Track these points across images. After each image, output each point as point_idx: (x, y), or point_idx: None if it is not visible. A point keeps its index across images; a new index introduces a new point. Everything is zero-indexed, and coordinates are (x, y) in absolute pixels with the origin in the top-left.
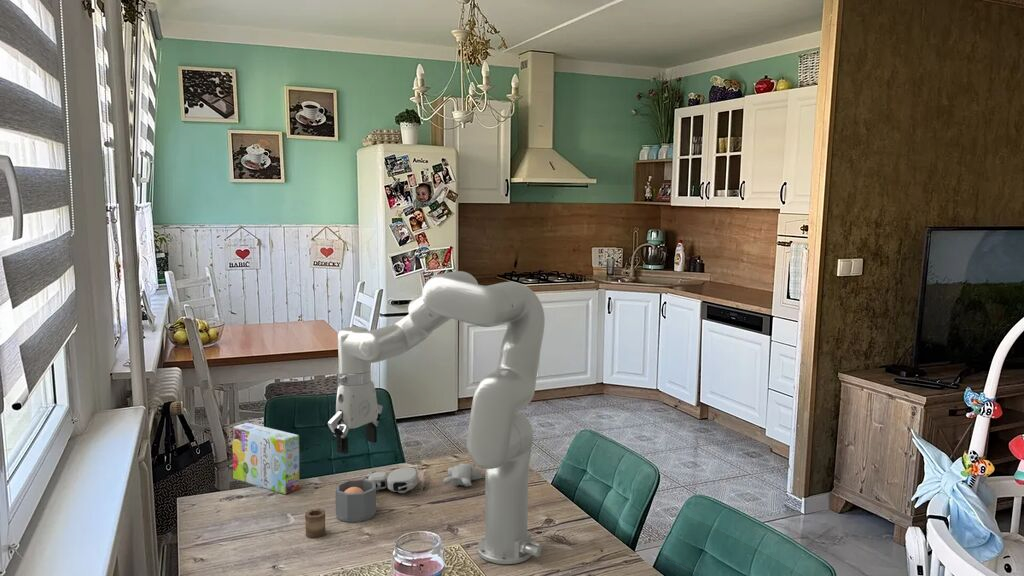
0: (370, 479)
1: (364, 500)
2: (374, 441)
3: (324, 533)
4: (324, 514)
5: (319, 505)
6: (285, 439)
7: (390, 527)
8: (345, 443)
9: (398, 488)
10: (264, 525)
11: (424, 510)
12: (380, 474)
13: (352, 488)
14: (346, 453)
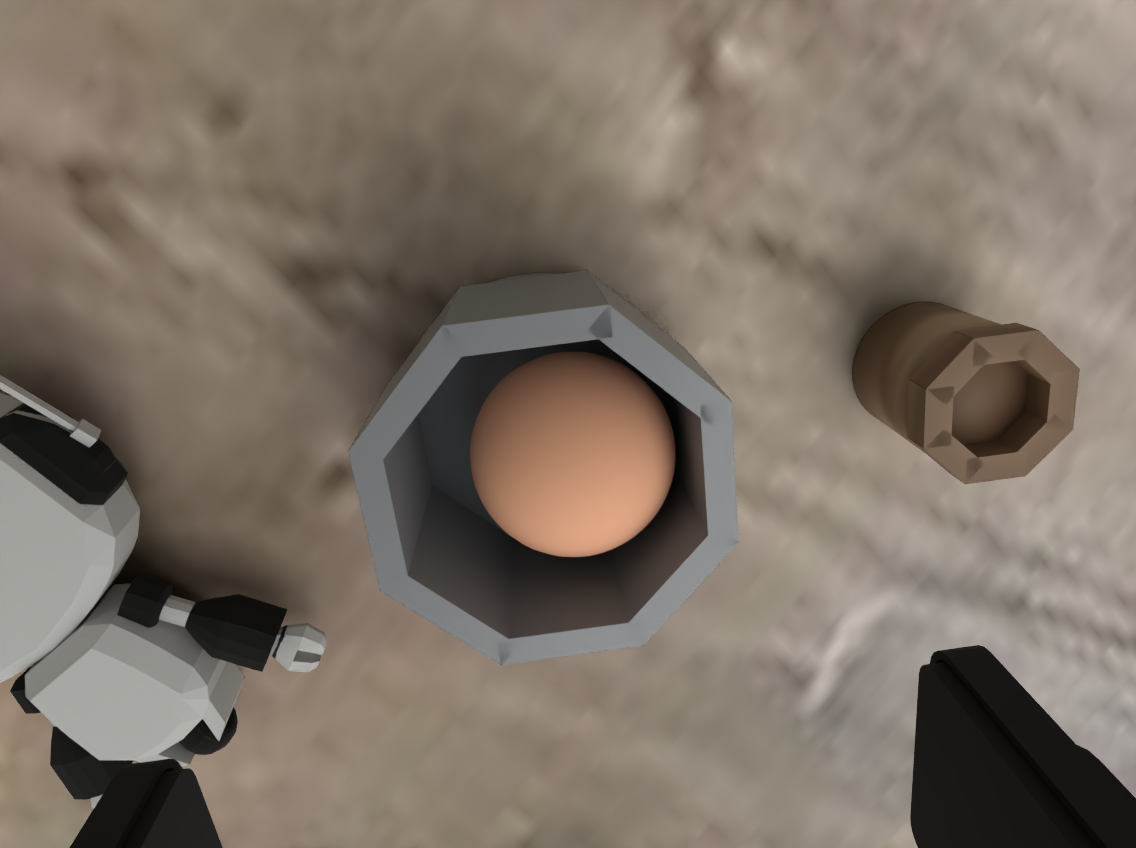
0: (201, 691)
1: (599, 293)
2: (177, 777)
3: (896, 311)
4: (978, 336)
5: (619, 677)
6: None
7: (513, 24)
8: (1123, 823)
9: (95, 434)
10: None
11: (98, 53)
12: (93, 696)
13: (595, 490)
14: (972, 646)
